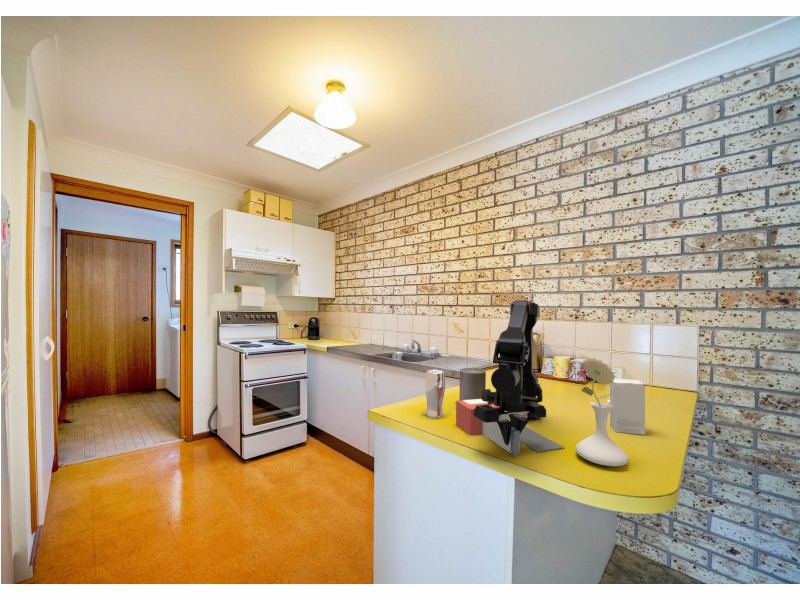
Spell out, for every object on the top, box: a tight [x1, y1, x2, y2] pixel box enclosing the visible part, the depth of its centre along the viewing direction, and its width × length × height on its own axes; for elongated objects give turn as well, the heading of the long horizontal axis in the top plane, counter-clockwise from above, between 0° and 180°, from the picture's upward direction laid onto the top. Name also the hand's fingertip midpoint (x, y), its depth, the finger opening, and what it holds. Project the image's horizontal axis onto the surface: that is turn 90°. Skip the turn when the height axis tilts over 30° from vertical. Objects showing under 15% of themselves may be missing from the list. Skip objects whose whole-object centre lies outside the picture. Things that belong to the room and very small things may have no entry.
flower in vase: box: [574, 357, 629, 467], centre depth 85 cm, size 13×11×25 cm
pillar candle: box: [458, 366, 487, 401], centre depth 127 cm, size 10×10×15 cm
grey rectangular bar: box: [481, 421, 521, 456], centre depth 94 cm, size 2×17×6 cm, turn 18°
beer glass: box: [424, 369, 446, 419], centre depth 116 cm, size 7×7×15 cm
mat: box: [520, 426, 566, 453], centre depth 97 cm, size 9×18×1 cm, turn 18°
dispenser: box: [455, 399, 499, 436], centre depth 104 cm, size 10×9×8 cm
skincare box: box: [609, 377, 646, 436], centre depth 105 cm, size 8×7×16 cm
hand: (509, 444), depth 88 cm, fingers closed on grey rectangular bar, 2 cm apart
